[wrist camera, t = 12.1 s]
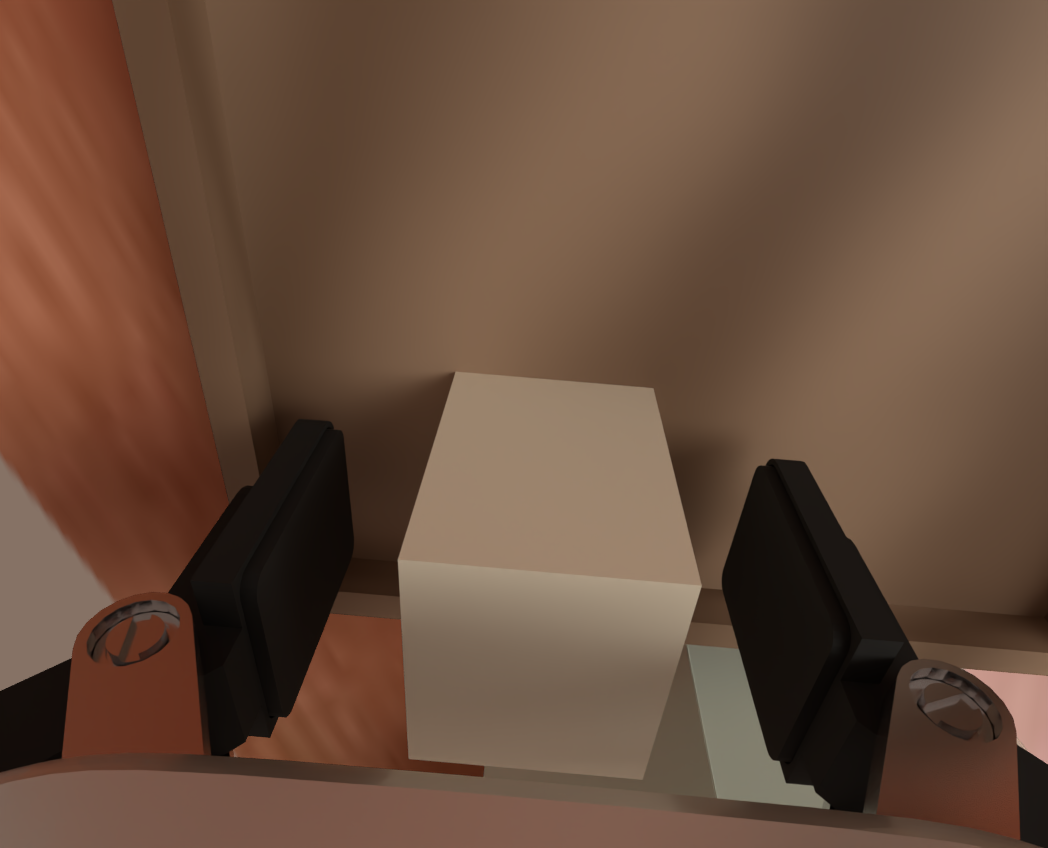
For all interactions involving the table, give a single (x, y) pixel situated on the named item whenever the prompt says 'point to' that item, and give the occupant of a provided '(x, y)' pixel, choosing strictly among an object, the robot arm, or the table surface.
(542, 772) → the celadon bowl
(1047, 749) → the table surface
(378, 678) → the table surface
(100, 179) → the table surface
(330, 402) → the walnut tray
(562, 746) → the beige upright box
